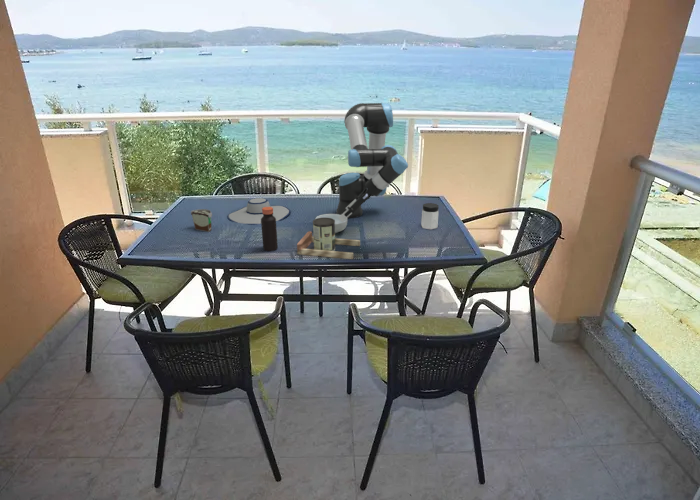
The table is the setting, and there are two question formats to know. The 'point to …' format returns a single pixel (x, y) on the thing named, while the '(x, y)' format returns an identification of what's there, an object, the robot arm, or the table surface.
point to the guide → (309, 238)
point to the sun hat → (257, 212)
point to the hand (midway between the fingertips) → (344, 214)
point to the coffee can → (324, 234)
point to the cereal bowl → (338, 223)
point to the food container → (202, 219)
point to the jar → (430, 216)
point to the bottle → (269, 229)
